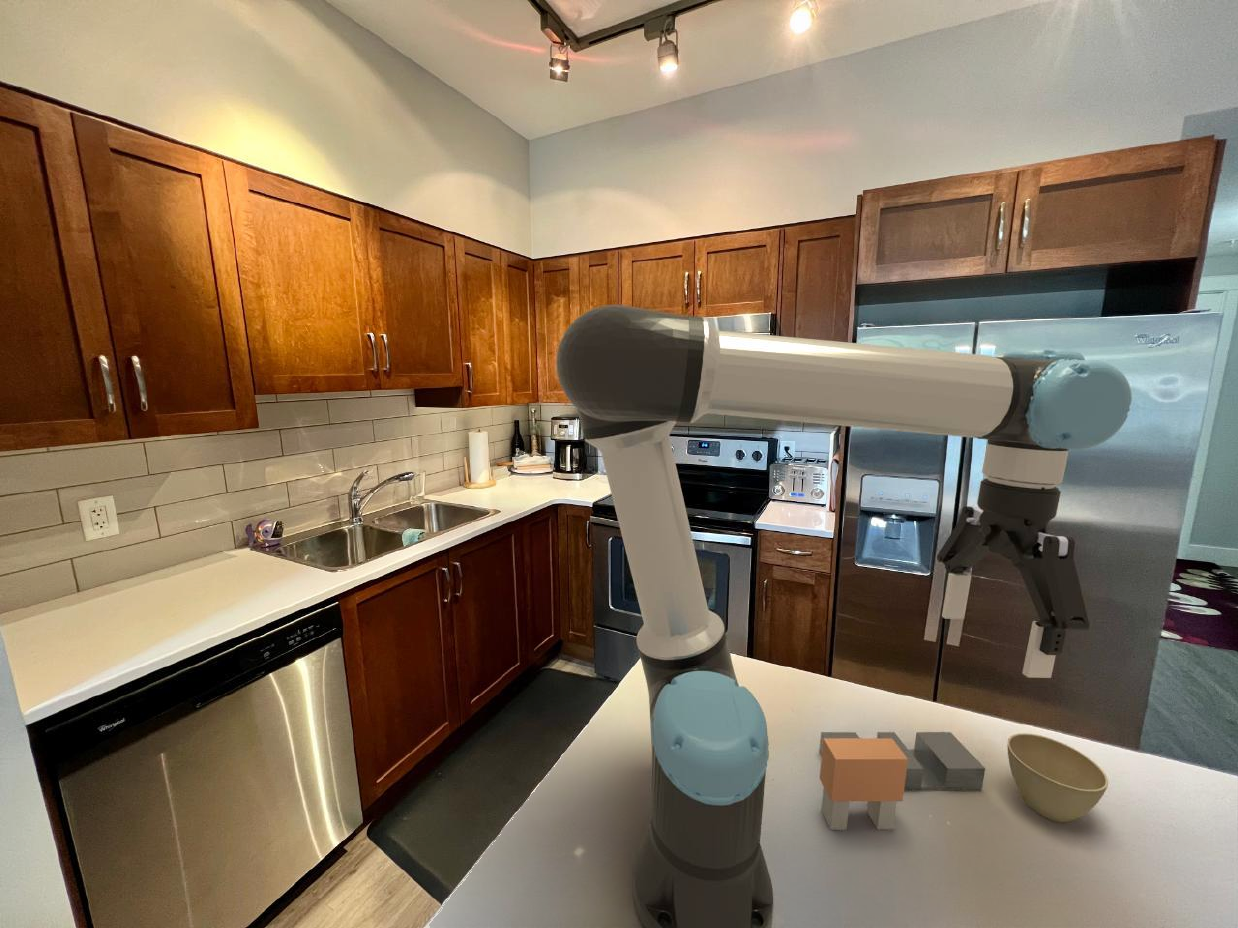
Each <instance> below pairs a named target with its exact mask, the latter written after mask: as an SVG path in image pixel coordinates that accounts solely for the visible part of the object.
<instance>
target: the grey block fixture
mask: <svg viewBox="0 0 1238 928" xmlns="http://www.w3.org/2000/svg"><path fill="white" fill-rule="evenodd" d="M915 733H916V734H915V740H914V748H913V749H908V747H907V746H906V745H905V744H904V742H903V741H902V739H901V738H900V737H899V736H898V735H897V734H896V732H895V731H893V732H892V731H881V732H880V731H877V733H876V736H877V737H876V738H892V739H893V740H894V742H895V743H896V744H897V746H898V747H899V748H900V749H901V751H902V752H903V753H904V755H905V756H906V757H907V758H908V764H907V771H906V779H905V787H904V791H982V790H983V784H984V779H985V772H986V767H985V766H984V765H983V764H982V763H981V762H980V761H979V760H978V759H977V758H976V757H975V756H974V755H973V754H972V752H970V751H969V749H967V748H966V746H964V745H963V743H962V742H961V741H960V740H959V739H958V738H957V737H956V736H955V735H954V734H953V733H952V732H950V731H941V732H938V731H931V732H930V731H916V732H915ZM823 738H860V736H859V735H858V734H857V732H856V731H855V732H854V731H851V732H849V731H845V732H843V731H840V732H839V731H837V732H836V731H832V732H831V731H830V732H829V731H828V732H827V731H826V732H825V731H821V732H820V742H819V751H818V753H819V755H820V757H821V758H822V748H823Z"/></svg>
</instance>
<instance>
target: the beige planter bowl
mask: <svg viewBox="0 0 1238 928" xmlns="http://www.w3.org/2000/svg"><path fill="white" fill-rule="evenodd" d="M1006 748H1007V759H1008V763H1009V768H1010V772H1011V775H1012V778H1013V780H1014V783H1015V786H1016V787H1017V789H1018V792H1019V795H1021V798H1022V800H1023V801H1024V802H1025V803H1026V805H1028V807H1029V808H1031V809H1032V811H1034V812H1036V814H1039V815H1040V816H1042V817H1044V818H1047V819H1049V820H1051V821H1054V822H1057V823H1068V822H1071V821H1075V820H1077V819H1078V818H1081V817H1082V816H1084V815H1085V814H1087V813H1088V812H1089V811H1091V810H1092V809H1093V808H1094V807H1095V806H1096V805H1097V804H1098V803H1099V801H1100V800H1101V799H1102V797H1103V796H1104V794H1105V793H1106V790H1107V788H1108V786H1109V778H1108V776H1107V774H1106V773H1105V771H1104V770H1103V769H1102V767H1100V766H1099V765H1098V764H1097V763H1096V762H1095V761H1094V760H1092V759H1091V758H1090V757H1088V756H1087V755H1085V754H1084V753H1082V752H1081V751H1079V750H1077V749H1075V748H1074V747H1072V746H1070V745H1068V744H1066V743H1063V742H1061V741H1058V740H1057V739H1054V738H1051V737H1048V736H1043V735H1041V734H1036V733H1028V732H1027V733H1025V732H1024V733H1023V732H1022V733H1015V734H1013V735H1011V736H1009V738H1008V739H1007V747H1006Z"/></svg>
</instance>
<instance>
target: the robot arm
mask: <svg viewBox="0 0 1238 928" xmlns="http://www.w3.org/2000/svg"><path fill="white" fill-rule="evenodd" d="M555 363H556V374H557V378H558V381H559V385H560V387H561V388H562V391H563V393H564V395H565V396H566V398H567V400H569V402H570V403H571V404H572V405H573V406H574V407H575V408H576V411H577V414H578V417H579V420H580V426H581V428H582V433H583V435H584V441H585V442H586V443H587V444H589V445H591V446H592V447H594V448H595V449H597V450H598V451H600V454H601V457H602V462H603V465H604V469H605V473H606V478H607V480H608V481H607V482H608V485H609V490H610V494H611V497H612V501H613V505H614V509H615V513H616V516H617V517H616V518H617V521H618V525H619V529H620V533H621V538H622V542H623V545H624V550H625V554H626V557H627V562H628V565H629V566H628V567H629V569H630V574H631V578H632V581H633V585H634V590H635V593H636V598H637V601H638V604H639V605H638V606H639V609H640V614H641V618H642V621H643V625H642V627H640V629H639V631H638V633H637V635H636V645H637V649H638V652H639V653H638V654H639V657H640V661H641V665H642V669H643V672H644V677H645V682H646V687H647V692H648V693H647V694H648V700H649V701H648V703H649V720H650V721H649V722H650V723H649V724H650V741H651V742H650V743H651V745H650V746H651V799H650V802H651V803H650V806H651V807H650V822H649V824H648V826H647V829H646V831H645V833H644V836H643V837H642V840H641V842H640V844H639V847H638V849H637V852H636V855H635V860H634V865H633V866H634V867H633V877H632V878H633V881H632V883H633V885H632V887H633V894H632V895H633V900H634V906H635V910H636V913H637V916H638V919H639V922H640V923H641V925H642V927H643V928H772V923H773V911H774V891H773V883H772V879H771V875H770V871H769V869H768V866H767V865H768V864H767V863H766V859H765V855H764V852H763V849H762V848H763V847H762V845H761V835H762V834H761V833H762V821H763V811H764V798H765V787H766V786H765V785H766V774H767V773H766V772H767V767H768V761H769V757H770V750H769V745H770V743H769V736H768V724H767V720H766V716H765V712H764V711H763V708H762V706H761V704H760V702H759V701H758V700H757V698H756V697H755V695H754V694H753V693H752V692H751V691H750V690H749V689H748V688H747V687H746V686H743V685H741V686H740V685H739V683H738V679H737V676H736V673H735V672H736V671H735V669H734V665H733V660H732V655H731V652H730V646H729V642H728V638H727V634H726V628H725V624H724V622H723V620H722V618H721V617H720V616H719V615H718V614H717V613H715V612H713V611H711V610H710V609H709V607H708V602H707V598H706V594H705V589H704V585H703V580H702V576H701V572H700V567H699V563H698V557H697V553H696V550H695V545H694V541H693V536H692V532H691V531H692V530H691V527H690V522H689V519H688V513H687V508H686V505H685V501H684V500H685V499H684V495H683V492H682V487H681V482H680V478H679V474H678V468H677V465H676V459H675V456H674V451H673V446H672V442H671V438H670V435H671V431H672V430H673V429H674V427H675V425H676V423H677V422H679V423H687V424H688V423H690V424H693V423H695V422H696V421H697V420H698V419H700V418H701V417H703V416H705V415H706V414H707V415H708V414H709V415H710V414H712V415H724V416H732V417H742V418H743V417H745V418H754V419H755V418H756V419H766V420H775V421H786V422H787V421H788V422H798V423H807V424H808V423H809V424H821V425H832V426H843V427H855V428H865V429H876V430H885V431H895V432H896V431H897V432H906V433H917V434H918V433H919V434H930V435H940V436H952V437H962V438H973V439H980V440H987V443H986V449H985V454H984V457H983V464H982V469H981V473H982V474H983V475H984V476H985V478H983V480H981V481H980V485H979V490H978V494H977V495H978V496H977V500H976V501H977V503H976V505H977V506H970V505H969V506H968V505H967V506H963V507H962V509H961V513H960V517H959V520H958V522H957V523H956V525H955V527H954V528H953V530H952V531H951V533H950V534H949V536H948V538H947V539H946V541H945V543H944V544H943V546H942V547H941V549H940V551H939V552H938V554H937V555H936V559H937V561H938V563H943V565H944V569H945V570H946V575H945V576H946V577H945V584H944V591H945V592H944V593H945V594H944V601H943V606H942V607H943V608H942V612H941V617H942V618H943V619H945V620H946V619H947V620H948V619H949V620H965V616H966V611H967V610H966V609H967V604H968V598H969V592H970V588H971V582H972V575H971V574H969V573H972V570H971V569H972V568H973V567H974V566H975V565H976V564H978V563H979V562H980V561H981V560H983V559H984V558H985V557H987V556H988V555H989V554H990V553H991V552H992V553H996V554H1000V555H1001V556H1002V557H1003V558H1005V559H1007V560H1011V562H1012V565H1013V566H1014V567H1015V568H1017V569H1018V570H1019V572H1020V575H1021V577H1022V579H1023V582H1024V584H1025V587H1026V590H1027V592H1028V594H1029V596H1030V599H1031V602H1032V604H1033V606H1034V609H1035V610H1036V613H1037V615H1038V618H1039V620H1032V623H1031V629H1030V633H1029V639H1028V644H1027V648H1026V654H1025V658H1024V664H1023V668H1022V674H1023V675H1024V676H1025V677H1027V678H1030V679H1031V678H1033V679H1034V678H1037V679H1038V678H1041V679H1044V678H1045V679H1046V678H1047V679H1051V678H1052V675H1053V671H1054V666H1055V660H1056V656H1060V655H1061V654H1062V652H1063V647H1064V643H1065V638H1066V634H1067V631H1089V629H1090V622H1089V617H1088V612H1087V609H1086V605H1085V601H1084V596H1083V593H1082V589H1081V588H1082V587H1081V585H1080V580H1079V576H1078V572H1077V567H1076V563H1075V559H1074V556H1075V546H1076V545H1075V544H1076V543H1075V539H1074V538H1073V537H1072V536H1065V535H1064V536H1061V535H1057V536H1056V535H1052V534H1049V532H1048V524H1049V522H1050V521H1052V520H1053V519H1055V518H1056V516H1057V514H1058V513H1057V512H1058V508H1059V502H1060V498H1061V491H1060V489H1059V488H1058V487H1057V485H1060V484H1061V483H1063V480H1064V476H1065V471H1066V466H1067V461H1068V457H1069V456H1068V455H1069V450H1085V449H1091V448H1093V447H1096V446H1098V445H1101V444H1103V443H1105V442H1107V441H1108V440H1110V439H1111V438H1112V437H1114V436H1115V435H1116V434H1117V432H1119V431H1120V429H1122V427H1123V425H1124V424H1125V422H1126V421H1127V418H1128V413H1129V412H1130V409H1131V408H1130V406H1131V404H1132V401H1133V397H1132V396H1133V395H1132V389H1131V386H1130V384H1129V380H1128V379H1127V378H1126V375H1124V374H1123V372H1121V370H1119V368H1117V367H1115V366H1114V365H1111V364H1110V363H1108V362H1104V361H1100V360H1095V359H1094V360H1093V359H1086V358H1085V357H1084V355H1083V354H1082V353H1081V352H1079V351H1076V350H1069V349H1019V350H1018V349H1017V350H1009V351H1007V352H1006V353H1004V354H1003V355H1002V356H993V355H989V354H988V355H986V354H979V353H978V354H976V353H967V352H965V353H964V352H958V351H957V352H956V351H955V352H954V351H945V350H944V351H943V350H934V349H923V348H912V347H911V348H910V347H902V346H901V347H900V346H891V345H890V346H889V345H881V344H880V345H879V344H869V343H858V342H857V343H856V342H848V341H847V342H845V341H835V340H825V339H814V338H803V337H795V336H782V335H781V336H780V335H770V334H759V333H758V334H757V333H748V332H737V331H727V330H718V329H716V328H715V327H714V326H713V325H712V323H711V322H710V321H709V320H708V318H707V317H705V316H694V315H685V314H676V313H671V312H664V311H658V310H651V309H646V308H641V307H636V306H631V305H625V304H624V305H623V304H605V305H601V306H597V307H594V308H591V309H589V310H587V311H586V312H584V313H583V314H581V315H579V316H578V317H577V318H576V319H575V320H573V321H572V323H570V324H569V326H568V328H567V329H566V330H565V332H564V333H563V336H562V338H561V340H560V342H559V344H558V349H557V353H556V361H555ZM1032 556H1033V558H1031V557H1032ZM1052 613H1053V615H1052Z"/></svg>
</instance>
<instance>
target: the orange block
mask: <svg viewBox="0 0 1238 928" xmlns="http://www.w3.org/2000/svg"><path fill="white" fill-rule="evenodd" d="M907 764H908V758H907V757H906V756H905V755H904V753H903V752H902V751H901V749H900V748H899V747H898V746H897V744H896V743H895V742H894V740H893V739H892V738H877V737H876V738H873V737H872V738H866V737H865V738H863V737H862V738H860V737H859V738H823V748H822V757H821V759H820V769H819V780H820V783H821V784H822V786H823V793H822V802H821V812H822V814H823V817H824V818H825V820H826V822H827V825H828V827H829V828H830V830H835V831H836V830H837V831H838V830H841V831H842V830H844V831H845V830H848V829H847V827H848V820H849V819H848V818H849V809H850V802H866V807H865V811H866V812H867V814H868V816H869V818H870V819H871V821H872V823H873V824H874V826H875V828H876V829H877V830H894V825H895V815H896V810H897V809H896V808H897V802H903V800H904V795H905V794H904V792H905V790H904V787H905V779H906V771H907Z"/></svg>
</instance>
